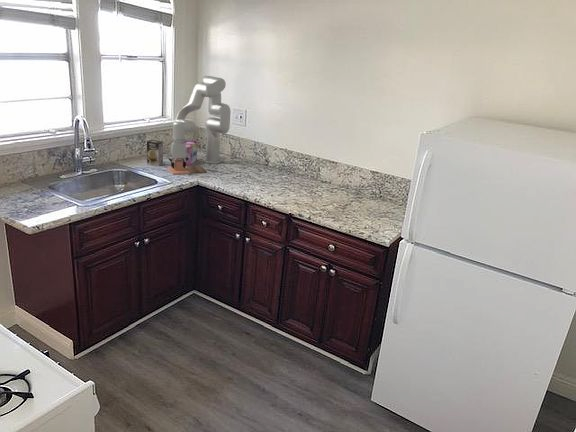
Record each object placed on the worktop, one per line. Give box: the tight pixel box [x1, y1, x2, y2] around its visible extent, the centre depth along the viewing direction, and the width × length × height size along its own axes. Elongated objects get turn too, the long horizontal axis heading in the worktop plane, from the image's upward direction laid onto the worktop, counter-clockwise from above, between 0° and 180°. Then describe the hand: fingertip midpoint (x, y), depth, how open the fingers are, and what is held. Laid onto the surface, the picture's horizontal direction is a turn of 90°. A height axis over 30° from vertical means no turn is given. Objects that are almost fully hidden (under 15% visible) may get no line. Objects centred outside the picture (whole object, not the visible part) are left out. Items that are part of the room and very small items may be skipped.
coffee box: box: [146, 139, 164, 167], centre depth 314 cm, size 9×6×16 cm
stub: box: [167, 159, 191, 176], centre depth 306 cm, size 11×14×7 cm
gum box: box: [181, 139, 198, 166], centre depth 324 cm, size 24×8×14 cm, turn 172°
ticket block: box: [185, 164, 207, 175], centre depth 312 cm, size 11×14×2 cm
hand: (178, 167), depth 306 cm, fingers open, 6 cm apart
